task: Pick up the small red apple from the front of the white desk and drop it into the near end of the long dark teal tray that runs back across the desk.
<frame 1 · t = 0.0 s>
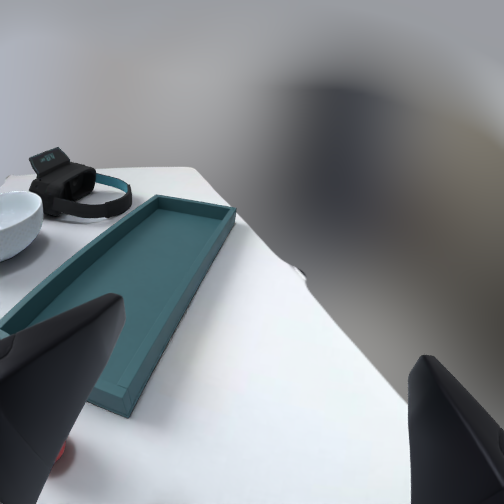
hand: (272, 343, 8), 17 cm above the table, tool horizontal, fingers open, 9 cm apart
tray: (144, 270, 40), on the table
cereal bowl: (2, 251, 38), on the table
virtual reality headset: (84, 205, 57), on the table
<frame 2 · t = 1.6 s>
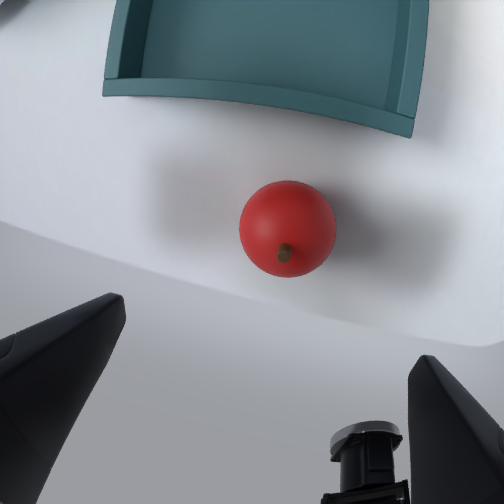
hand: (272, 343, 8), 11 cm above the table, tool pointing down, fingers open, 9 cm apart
apple: (290, 213, 18), on the table
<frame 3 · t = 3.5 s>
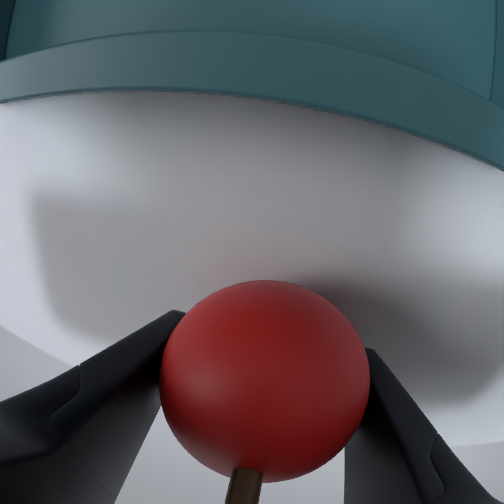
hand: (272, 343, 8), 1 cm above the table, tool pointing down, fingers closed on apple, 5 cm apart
apple: (274, 320, 9), on the table, touching gripper
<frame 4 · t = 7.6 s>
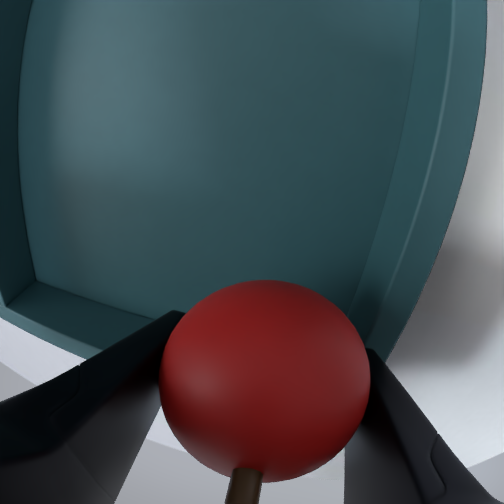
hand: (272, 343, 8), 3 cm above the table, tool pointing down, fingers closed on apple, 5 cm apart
apple: (275, 319, 9), point 2 cm above the table, touching gripper
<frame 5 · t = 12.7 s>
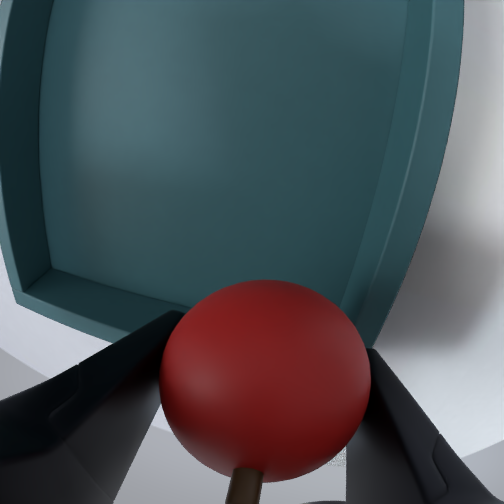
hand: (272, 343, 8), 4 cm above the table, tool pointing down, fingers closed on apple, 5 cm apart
apple: (275, 319, 9), point 3 cm above the table, touching gripper
when the fingers open (5 cm above the table, at t = 17.4 s): apple drops 3 cm, resting on tray.
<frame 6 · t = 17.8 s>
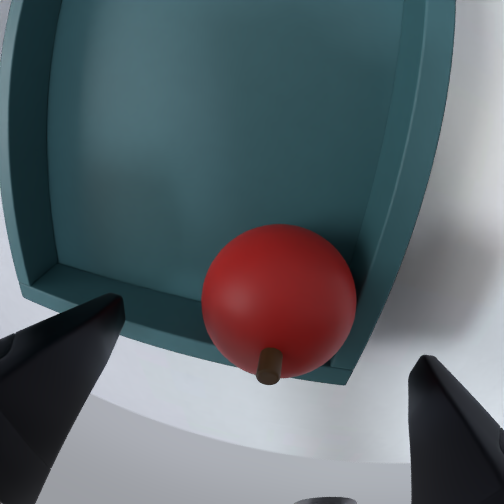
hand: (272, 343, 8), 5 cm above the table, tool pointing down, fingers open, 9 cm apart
apple: (284, 264, 12), resting on tray
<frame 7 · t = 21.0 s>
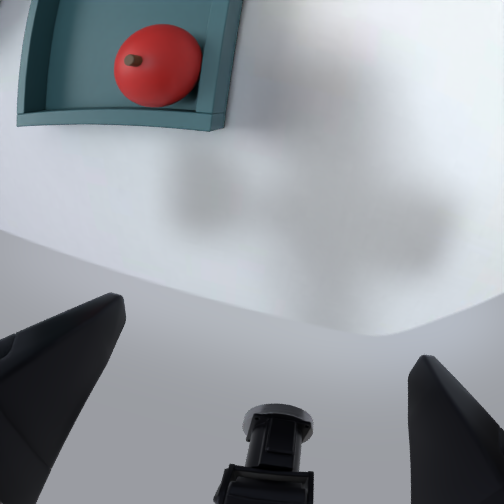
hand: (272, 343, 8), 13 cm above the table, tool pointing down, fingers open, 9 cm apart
apple: (175, 68, 17), resting on tray
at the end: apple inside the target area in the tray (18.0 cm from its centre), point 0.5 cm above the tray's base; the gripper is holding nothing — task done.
